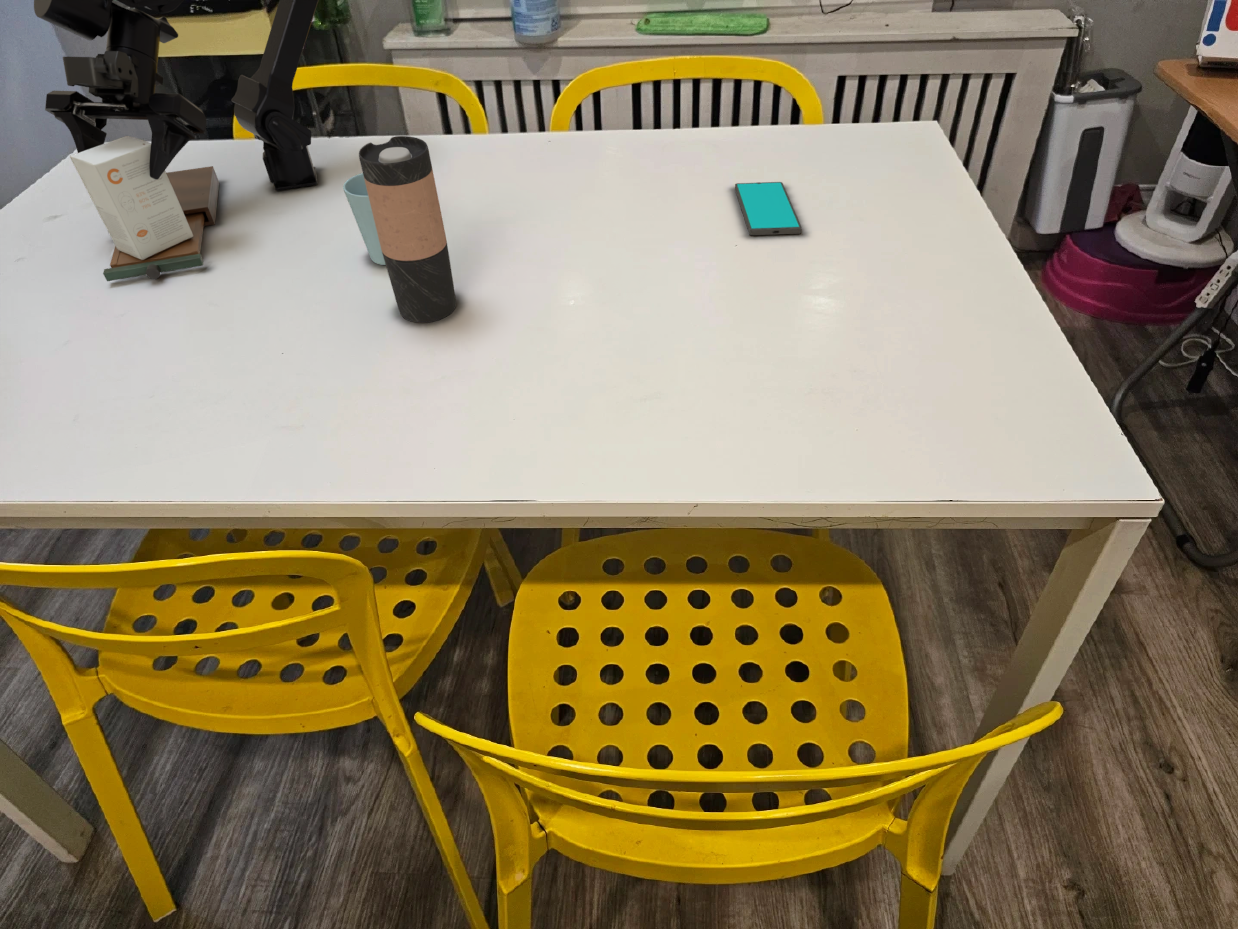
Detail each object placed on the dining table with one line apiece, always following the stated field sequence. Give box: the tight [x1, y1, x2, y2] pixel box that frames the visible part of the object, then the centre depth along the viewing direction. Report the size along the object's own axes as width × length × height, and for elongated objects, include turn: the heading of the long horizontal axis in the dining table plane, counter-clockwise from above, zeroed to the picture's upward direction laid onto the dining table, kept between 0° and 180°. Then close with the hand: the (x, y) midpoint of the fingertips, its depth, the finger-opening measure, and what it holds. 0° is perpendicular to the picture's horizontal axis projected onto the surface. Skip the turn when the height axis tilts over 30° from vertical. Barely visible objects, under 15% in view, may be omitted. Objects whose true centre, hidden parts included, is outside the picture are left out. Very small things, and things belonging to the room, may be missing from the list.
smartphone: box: [734, 181, 803, 236], centre depth 116 cm, size 7×1×15 cm
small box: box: [69, 135, 193, 260], centre depth 105 cm, size 8×6×13 cm
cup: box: [342, 172, 386, 266], centre depth 106 cm, size 8×8×10 cm
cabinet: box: [166, 165, 220, 227], centre depth 120 cm, size 15×13×3 cm
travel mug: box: [358, 135, 457, 324], centre depth 93 cm, size 8×8×20 cm
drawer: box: [102, 213, 205, 282], centre depth 110 cm, size 16×12×2 cm
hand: (120, 177), depth 103 cm, fingers open, 9 cm apart
